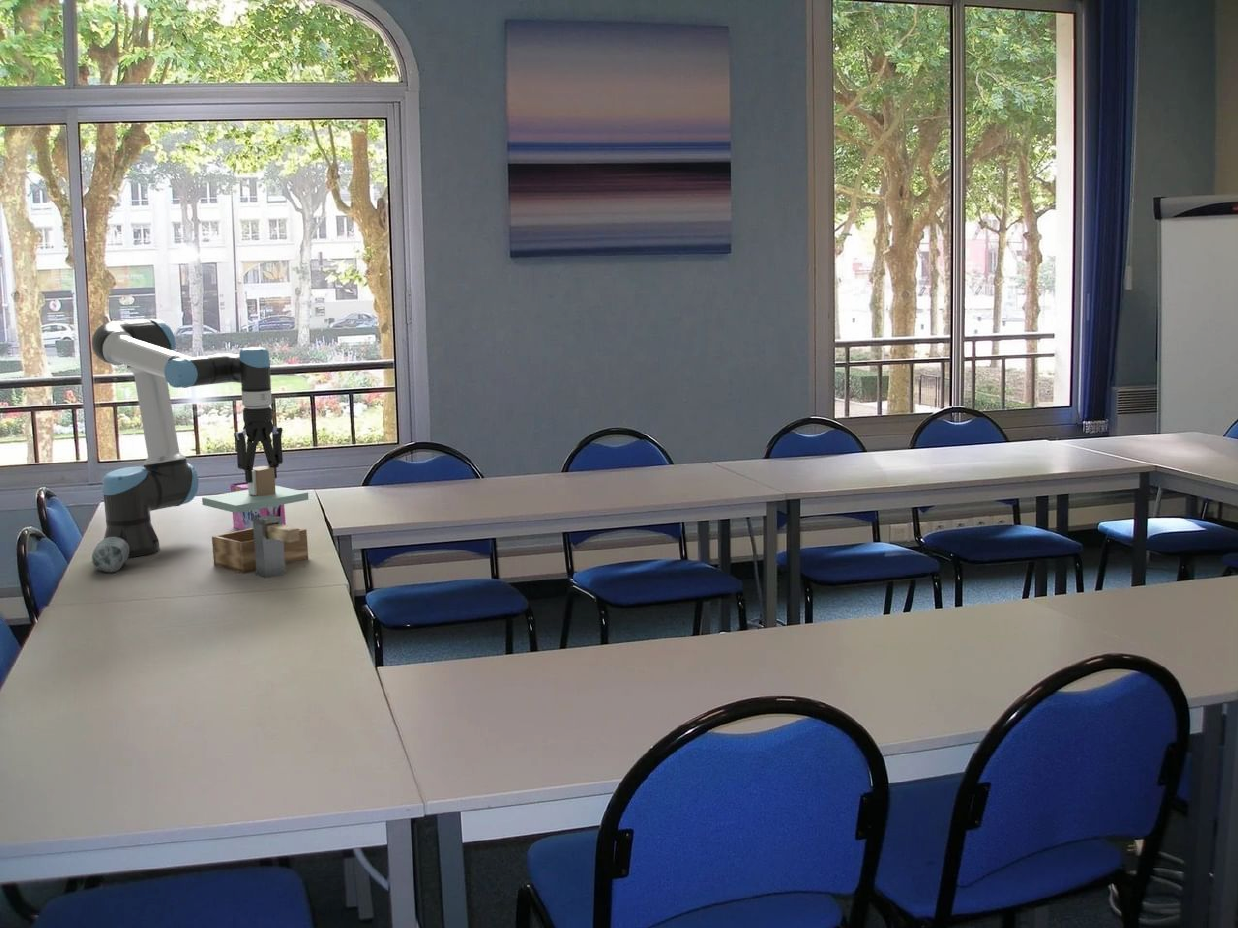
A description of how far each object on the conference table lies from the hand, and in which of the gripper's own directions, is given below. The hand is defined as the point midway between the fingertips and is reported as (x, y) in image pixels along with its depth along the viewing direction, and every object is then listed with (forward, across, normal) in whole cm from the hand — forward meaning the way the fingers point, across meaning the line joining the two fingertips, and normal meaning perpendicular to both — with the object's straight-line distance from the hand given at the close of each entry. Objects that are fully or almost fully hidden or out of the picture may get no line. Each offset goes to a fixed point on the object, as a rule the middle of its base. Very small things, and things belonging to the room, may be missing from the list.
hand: (262, 492), depth 331 cm
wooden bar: (+8, -8, -18) cm, 22 cm away
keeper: (+18, -8, -15) cm, 25 cm away
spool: (+20, -30, +26) cm, 44 cm away
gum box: (+20, +20, +34) cm, 44 cm away
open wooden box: (+19, -2, -1) cm, 19 cm away
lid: (+2, -2, 0) cm, 3 cm away
